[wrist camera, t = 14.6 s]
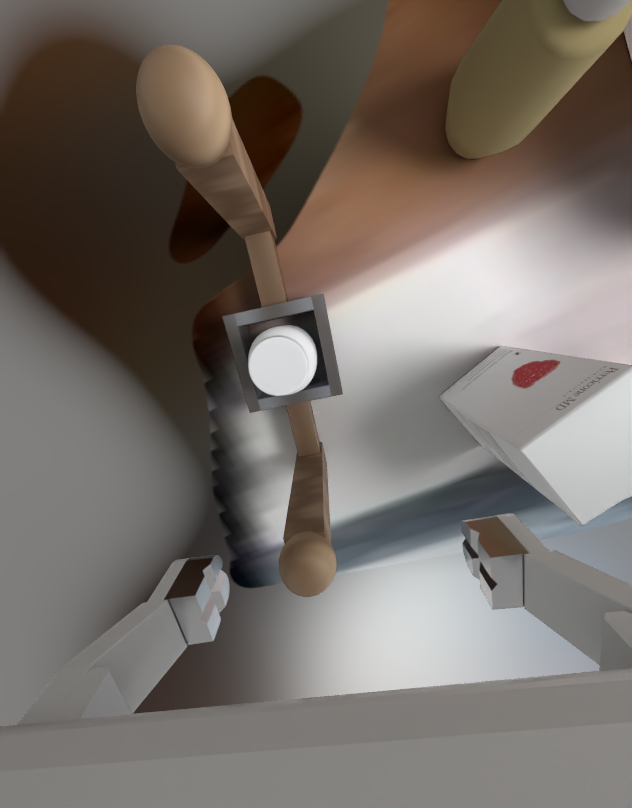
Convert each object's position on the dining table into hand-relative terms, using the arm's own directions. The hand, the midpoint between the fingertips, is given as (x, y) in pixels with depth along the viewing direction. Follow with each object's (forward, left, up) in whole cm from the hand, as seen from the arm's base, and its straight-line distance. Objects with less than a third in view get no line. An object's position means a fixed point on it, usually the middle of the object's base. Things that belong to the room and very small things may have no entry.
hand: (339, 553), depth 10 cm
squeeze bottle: (-19, -22, -26) cm, 39 cm away
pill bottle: (+3, -5, -26) cm, 26 cm away
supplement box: (-19, +5, -26) cm, 32 cm away
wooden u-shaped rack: (+3, -5, -26) cm, 26 cm away
